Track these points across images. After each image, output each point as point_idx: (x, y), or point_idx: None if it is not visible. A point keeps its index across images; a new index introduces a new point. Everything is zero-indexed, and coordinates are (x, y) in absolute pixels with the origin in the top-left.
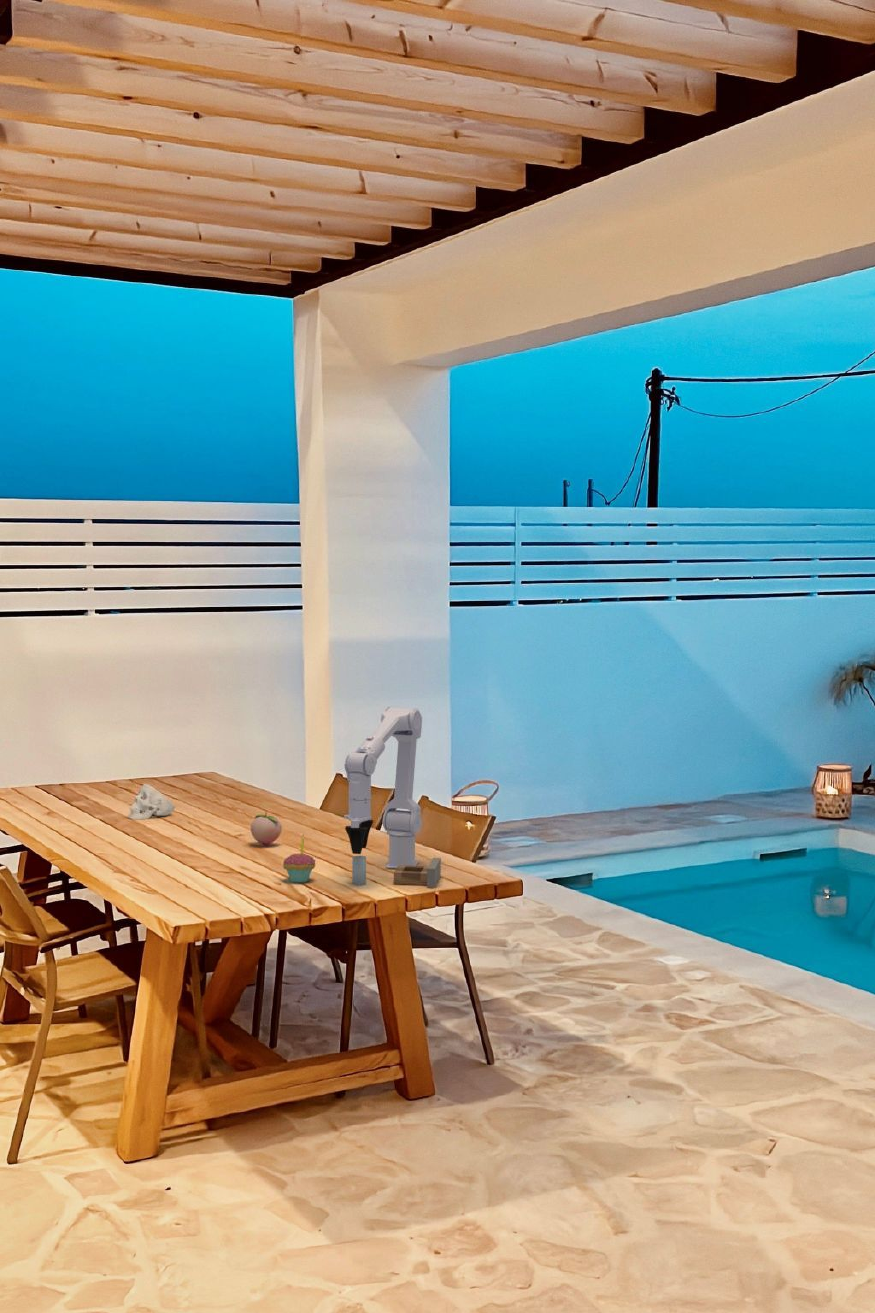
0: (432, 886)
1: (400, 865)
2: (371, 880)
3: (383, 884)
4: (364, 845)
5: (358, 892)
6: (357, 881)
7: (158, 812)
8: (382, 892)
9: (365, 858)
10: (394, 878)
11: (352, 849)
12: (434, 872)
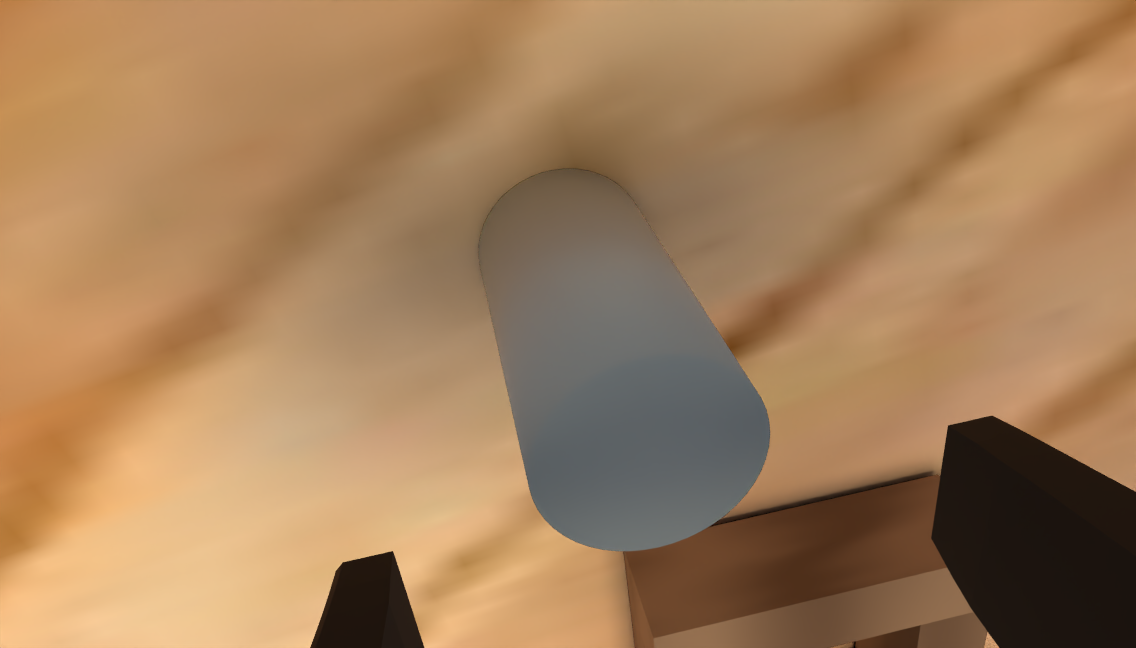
0: None
1: None
2: (764, 307)
3: None
4: (961, 568)
5: (132, 395)
6: (485, 281)
7: None
8: (264, 578)
9: (622, 543)
10: (638, 593)
11: (319, 644)
12: None
